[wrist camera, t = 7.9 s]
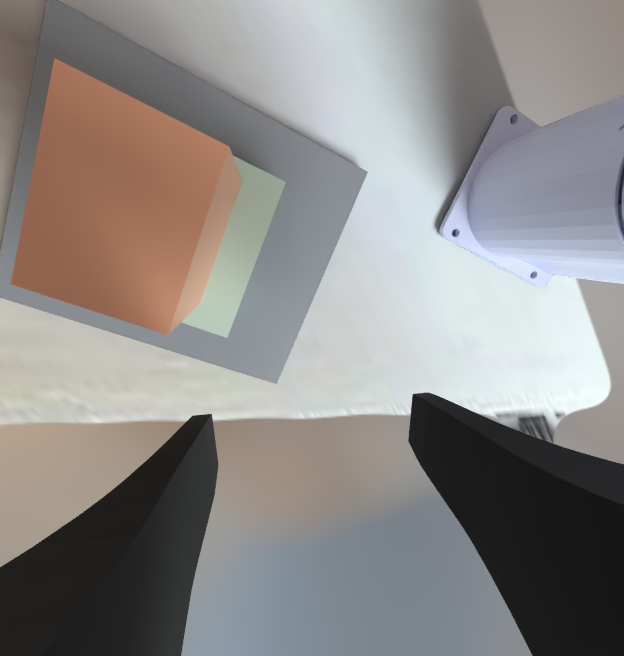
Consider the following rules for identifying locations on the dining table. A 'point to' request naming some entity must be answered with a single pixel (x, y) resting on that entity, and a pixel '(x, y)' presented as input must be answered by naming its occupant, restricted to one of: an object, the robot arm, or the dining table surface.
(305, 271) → the tower base
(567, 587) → the robot arm
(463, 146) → the dining table surface
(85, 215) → the top brick
